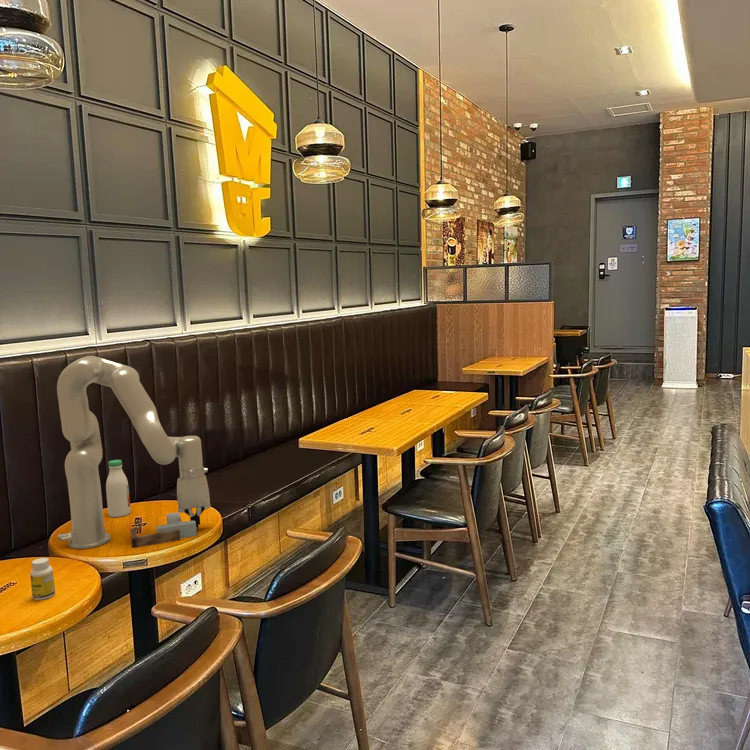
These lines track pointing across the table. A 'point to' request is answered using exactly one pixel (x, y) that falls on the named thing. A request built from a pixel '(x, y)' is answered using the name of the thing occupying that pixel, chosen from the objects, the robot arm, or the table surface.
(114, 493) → the milk bottle
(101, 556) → the table surface
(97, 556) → the table surface
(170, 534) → the corner fence
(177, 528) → the t block
